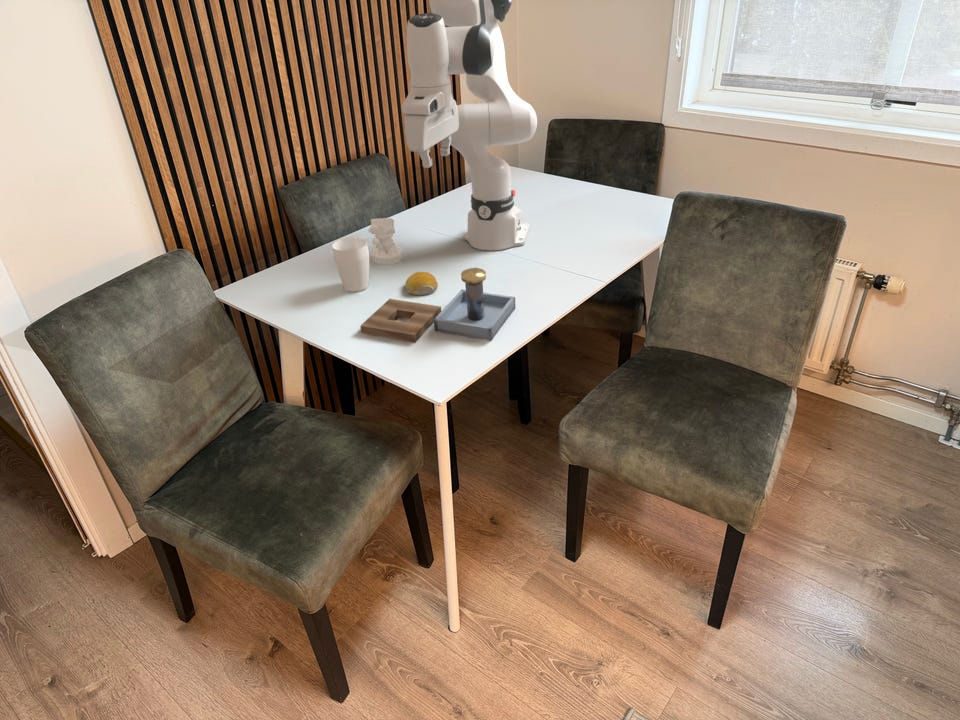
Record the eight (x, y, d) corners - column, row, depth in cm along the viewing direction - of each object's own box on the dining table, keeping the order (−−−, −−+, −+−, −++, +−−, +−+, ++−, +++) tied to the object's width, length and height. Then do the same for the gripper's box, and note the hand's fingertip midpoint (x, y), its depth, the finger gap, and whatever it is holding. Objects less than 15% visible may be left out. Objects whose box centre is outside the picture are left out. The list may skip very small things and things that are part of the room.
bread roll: (434, 279, 178) (432, 265, 176) (440, 293, 170) (439, 279, 168) (403, 283, 176) (401, 269, 174) (408, 298, 169) (406, 284, 167)
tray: (462, 300, 166) (461, 289, 165) (515, 308, 161) (515, 297, 160) (434, 331, 154) (433, 319, 152) (491, 340, 149) (490, 328, 147)
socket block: (390, 305, 165) (389, 298, 164) (441, 313, 161) (441, 306, 160) (361, 333, 155) (360, 325, 154) (415, 342, 150) (414, 334, 149)
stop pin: (469, 309, 160) (466, 266, 154) (491, 312, 158) (489, 269, 152) (460, 320, 156) (457, 277, 150) (482, 323, 154) (480, 280, 148)
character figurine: (370, 265, 187) (364, 224, 180) (375, 251, 195) (369, 211, 188) (401, 264, 186) (396, 223, 180) (405, 250, 194) (400, 210, 188)
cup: (336, 283, 178) (328, 240, 172) (369, 276, 180) (363, 234, 174) (342, 297, 171) (335, 253, 164) (377, 290, 173) (370, 247, 167)
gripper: (438, 87, 155) (443, 148, 162) (397, 107, 139) (404, 173, 147) (463, 88, 153) (467, 149, 160) (424, 108, 137) (430, 175, 145)
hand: (436, 161), depth 153 cm, fingers open, 8 cm apart
